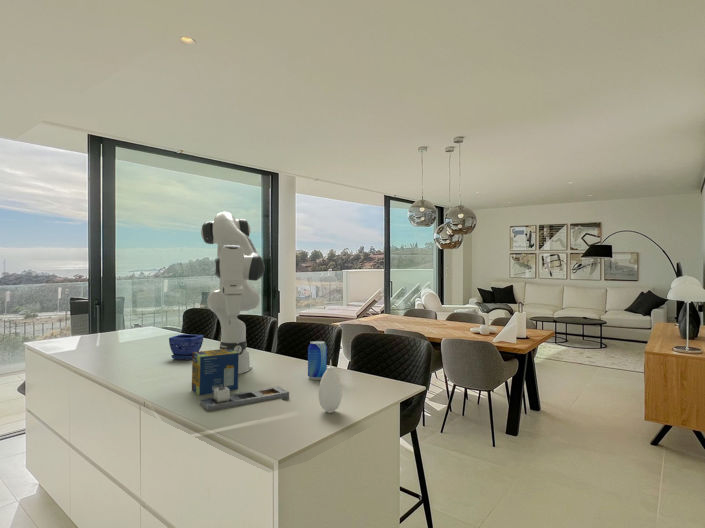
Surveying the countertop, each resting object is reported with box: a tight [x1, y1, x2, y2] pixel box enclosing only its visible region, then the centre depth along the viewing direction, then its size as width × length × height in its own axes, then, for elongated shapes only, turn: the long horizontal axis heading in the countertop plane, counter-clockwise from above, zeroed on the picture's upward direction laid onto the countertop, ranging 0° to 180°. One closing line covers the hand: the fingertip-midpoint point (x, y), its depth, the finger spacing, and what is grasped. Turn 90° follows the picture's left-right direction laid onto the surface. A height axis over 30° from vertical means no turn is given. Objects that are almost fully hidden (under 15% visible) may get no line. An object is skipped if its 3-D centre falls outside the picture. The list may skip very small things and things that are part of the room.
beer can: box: [307, 340, 328, 381], centre depth 184 cm, size 8×8×16 cm
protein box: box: [191, 348, 239, 396], centre depth 162 cm, size 10×15×16 cm
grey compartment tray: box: [199, 385, 290, 412], centre depth 148 cm, size 9×30×2 cm, turn 126°
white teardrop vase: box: [318, 359, 343, 414], centre depth 140 cm, size 8×8×18 cm
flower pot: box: [168, 333, 204, 361], centre depth 220 cm, size 13×13×12 cm
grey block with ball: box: [213, 386, 231, 404], centre depth 143 cm, size 4×4×6 cm
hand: (232, 326), depth 149 cm, fingers open, 8 cm apart
